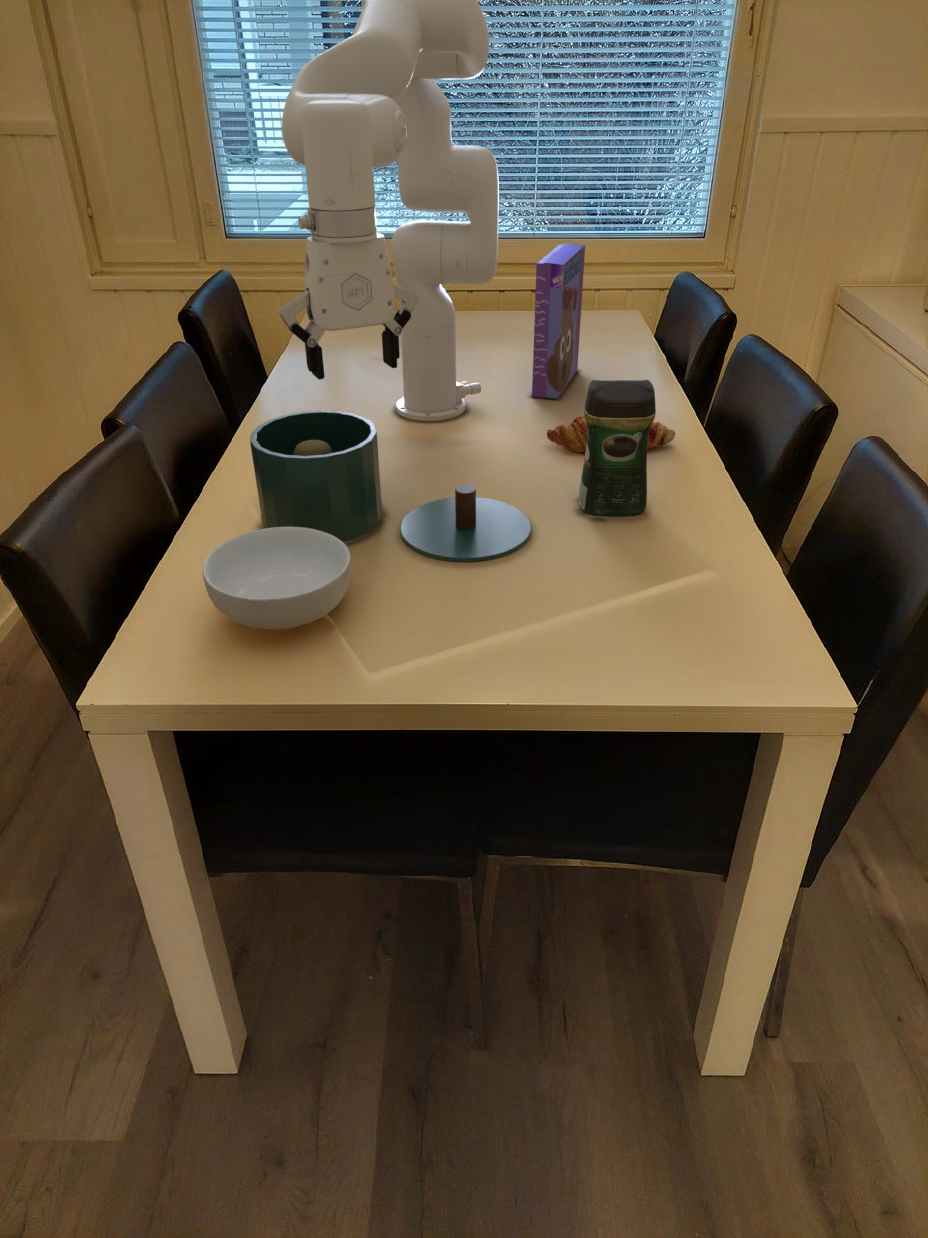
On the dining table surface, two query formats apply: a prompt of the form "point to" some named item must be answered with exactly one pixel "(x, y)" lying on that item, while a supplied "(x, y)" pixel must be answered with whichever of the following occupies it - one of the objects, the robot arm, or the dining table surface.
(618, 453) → the coffee jar
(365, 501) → the tin
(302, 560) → the cereal bowl
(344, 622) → the dining table surface
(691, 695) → the dining table surface
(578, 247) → the cereal box
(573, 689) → the dining table surface
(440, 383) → the robot arm
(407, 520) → the tin lid
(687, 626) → the dining table surface
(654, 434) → the croissant
